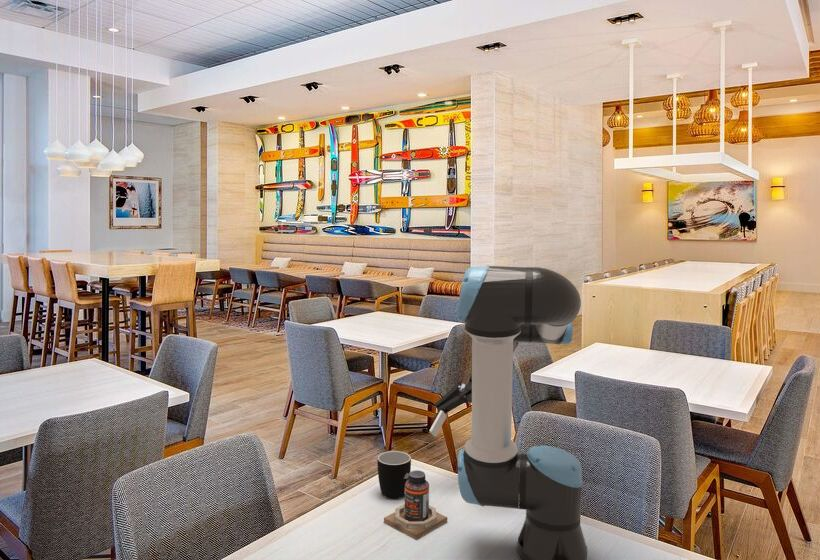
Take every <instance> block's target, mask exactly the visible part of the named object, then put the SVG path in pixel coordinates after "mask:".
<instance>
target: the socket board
mask: <svg viewBox="0 0 820 560" xmlns="http://www.w3.org/2000/svg"><path fill="white" fill-rule="evenodd" d="M404 509H405V503H404V504H402V505H400V506H398V507H396V508H395V509H394V510H395V511H394V512H393V513H390V514H389V515H387V516H384V517H383V523H384V524H386V525H387V526H390V527H392V528H394V530H395V529H396V531H400V532H401V533H403V534H405V535H407V536H408V537H410V538H411V539H412V538H413V539H415V540H416V539H418V540H419V539H421V538H422V536H423V537H424V536H426V535H427V534H430V533H431V532H433V531H435V530H436V529H438V528H440V527H442V526H443V525H445V524H447V523H448V516H446V515H443V514H442V513H439V512H437V510H436V507H434V506H431V505H429V515H428V519H427V520H425V521H417V522H410V521H408V520H407V519H406V518H405V514H404Z"/></svg>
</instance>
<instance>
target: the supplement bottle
mask: <svg viewBox="0 0 820 560" xmlns="http://www.w3.org/2000/svg"><path fill="white" fill-rule="evenodd" d="M404 504H405V509H404V514H405V518H406V519H407V520H408V521H410V522H417V521H425V520H427V519H428V515H429V506H430V505H429V504H430V484H429V482H428V481H427V480H426V472H424V471H422V470H411V471H410V473H409V480H407V481H406V483H405V496H404Z"/></svg>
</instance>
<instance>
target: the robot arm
mask: <svg viewBox="0 0 820 560" xmlns="http://www.w3.org/2000/svg"><path fill="white" fill-rule="evenodd" d="M581 307H582V300H581V295H580V293H579V291H578V289H577V288H576V286H575V284H573V283H572V282H571V281H570V280H569V279H568V278H567V277H565V276H564V275H562V274H561V273H558V272H556V271H554V270H552V269H548V268H545V267H544V268H543V267H538V266H537V267H536V266H532V267H527V266H524V267H523V266H506V265H505V266H504V265H503V266H502V265H500V266H499V265H489V264H488V265H483V266H482V265H480V266H478V265H477V266H470V267H469V268H467V269H466V270H465V272H464V274H463V277H462V283H461V287H460V292H459V298H458V305H457V320H458V322H460V323H464V331H465V333H466V334H467V335H469V337H471V373H470V375H469V379H468V380H469V381H468V382H467V383H466V384H465V383H462V381H461V380H458V381H457V382H456V384H455V385H454V387H452V388H451V389H450V390H449V391H447V393H445V395H443V396H442V397H440V399H438V401H436V402H435V403H434V406H435V408H436V409H437V412H436V414H435V415H434V417H433V423H432V425H431V427H430V429H429V433H431V435H432V436H433V437H437V435H438V434H439V432H440V430H441V428H442V426H443V424H444V422H445V421H446V419H447V418H448V415H447V414H448V413H449V412H451V411H453V410H454V409H456V408H458V407H459V406H461V405H463V404H467V403H471V437H470V438H469V439H467V441H466V442H465V444H464V448H462V449H460V450H459V451H458V456H457V480H458V488H459V492H460V496H461V498H462V499H463V501H464V502H466V503H467V504H471V505H472V504H473V505H478V506H481V507H485V506H486V507H495V508H496V507H498V508H507V509H515V510H516V509H519V510H525V519H524V522H523V524H522V527H521V530H520V531H519V533H518V534H519V535H518V537H517V542H516V544H517V545H516V548H517V549H516V552H517V555H518V557H519V559H520V560H588V553H589V552H588V546H587V544H586V540H585V539H586V538H585V537H584V532H583V529H582V527H581V526H582V525H581V515H582V513H581V510H582V486H583V484H584V481H583V468H582V464H581V462H580V460H579V459H578V458H577V457H576V456H575V455H573V454H572V453H570V452H569V451H567V450H564V449H562V448H558V447H555V446H551V445H550V446H549V445H538V446H537V445H534V446H532V447H530V448H529V449H528V451H527V452H526V453H519V449H518V448H519V447H518V445H517V444H516V442H515V441H514V440H512V413H513V409H512V407H513V369H514V366H513V365H514V353H515V350H516V349H517V347H518V346H519V343H534V344H535V343H536V344H537V343H538V344H551V345H552V344H555V345H569V344H571V343H572V340H573V329H574V328H573V327H574V326H573V325H574V324H573V321H574V320H575V319H576V318H577V316H578V314H579V312H580V310H581Z"/></svg>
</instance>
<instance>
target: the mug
mask: <svg viewBox="0 0 820 560" xmlns="http://www.w3.org/2000/svg"><path fill="white" fill-rule="evenodd" d="M411 466H412V457H411V455H410V454H408V453H407V452H404V451H402V450H401V451H399V450H388V451H385V452H382V453H379V455H378V456H377V473H378V475H377V476H378V484H379V488H380V492H381V494H382V495H383V497H384V498H387V499H389V498H390V500H397V499H398V500H399V499H402V498H403V496H404V497H405V483H406V481H407V480H409V473H410V472H411V471H412V469H411V468H412V467H411ZM401 497H402V498H401Z"/></svg>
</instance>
